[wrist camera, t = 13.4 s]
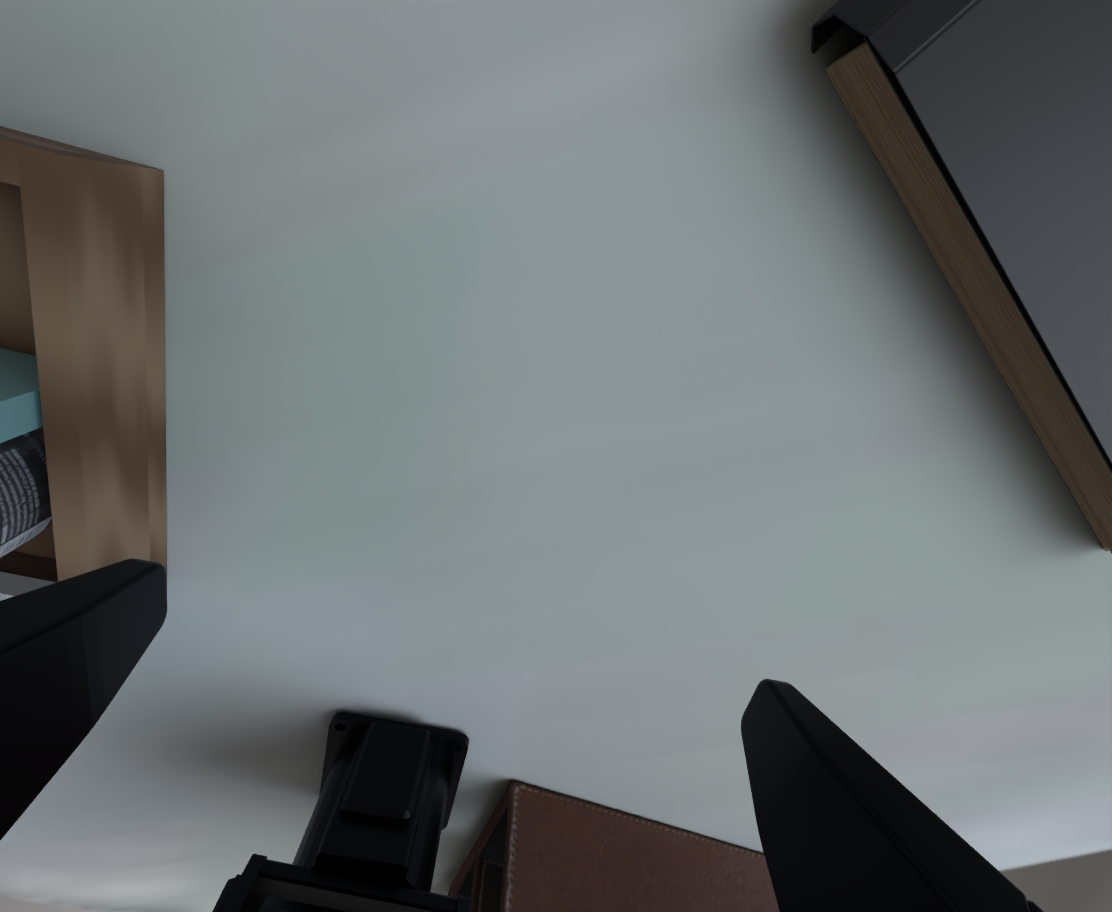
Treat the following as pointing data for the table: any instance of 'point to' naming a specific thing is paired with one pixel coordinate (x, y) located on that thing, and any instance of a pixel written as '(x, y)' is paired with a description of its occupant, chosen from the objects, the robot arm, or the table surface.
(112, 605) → the robot arm
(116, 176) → the brown shallow box
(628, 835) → the letter holder
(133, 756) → the table surface
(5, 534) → the supplement bottle
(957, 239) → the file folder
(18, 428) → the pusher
